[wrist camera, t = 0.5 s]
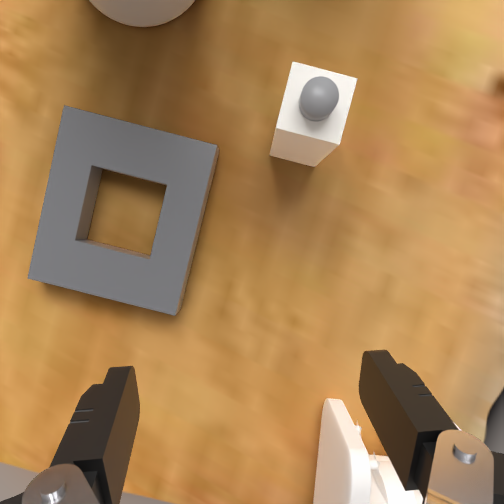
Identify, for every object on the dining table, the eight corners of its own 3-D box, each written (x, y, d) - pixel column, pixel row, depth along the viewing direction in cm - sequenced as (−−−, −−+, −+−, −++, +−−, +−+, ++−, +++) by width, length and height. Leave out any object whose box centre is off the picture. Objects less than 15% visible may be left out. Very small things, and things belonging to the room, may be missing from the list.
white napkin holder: (321, 380, 38) (352, 450, 26) (426, 388, 38) (502, 462, 26) (308, 519, 39) (331, 646, 27) (409, 527, 39) (475, 657, 27)
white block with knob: (281, 108, 36) (295, 51, 24) (327, 120, 36) (363, 69, 24) (269, 155, 36) (277, 121, 24) (314, 167, 36) (344, 139, 24)
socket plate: (77, 113, 36) (64, 105, 33) (219, 150, 36) (216, 145, 33) (42, 274, 37) (27, 278, 34) (180, 309, 37) (175, 315, 35)
